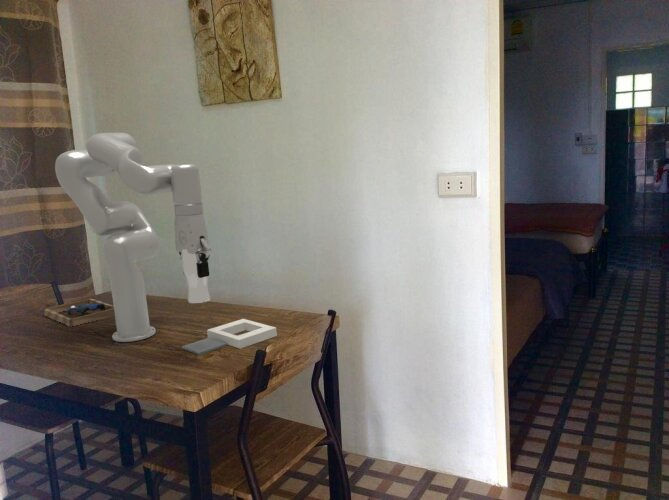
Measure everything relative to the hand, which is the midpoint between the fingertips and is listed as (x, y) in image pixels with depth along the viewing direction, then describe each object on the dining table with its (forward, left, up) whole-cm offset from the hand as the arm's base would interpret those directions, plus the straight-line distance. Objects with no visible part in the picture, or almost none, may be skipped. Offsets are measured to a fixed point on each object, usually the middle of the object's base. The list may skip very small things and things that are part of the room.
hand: (196, 274), depth 166 cm
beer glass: (0, 0, -7) cm, 7 cm away
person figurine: (-66, -5, -21) cm, 70 cm away
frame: (-68, -7, -21) cm, 71 cm away
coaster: (0, 0, -21) cm, 21 cm away
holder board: (+2, +11, -21) cm, 24 cm away
